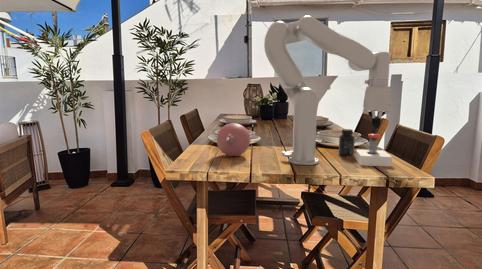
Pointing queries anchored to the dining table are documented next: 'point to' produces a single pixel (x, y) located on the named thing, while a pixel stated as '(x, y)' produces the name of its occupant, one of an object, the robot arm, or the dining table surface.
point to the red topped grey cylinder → (373, 143)
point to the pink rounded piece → (233, 139)
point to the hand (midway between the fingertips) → (375, 127)
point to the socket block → (373, 158)
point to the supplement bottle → (346, 143)
